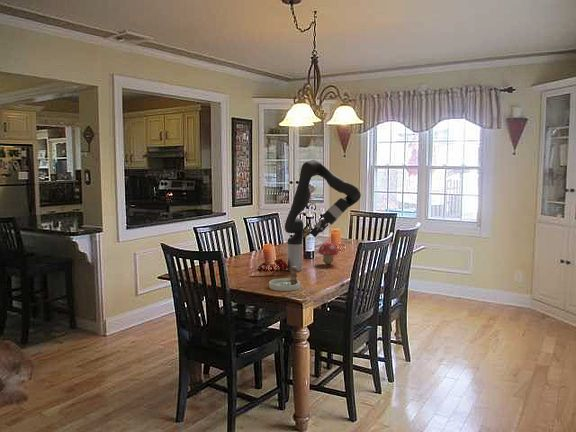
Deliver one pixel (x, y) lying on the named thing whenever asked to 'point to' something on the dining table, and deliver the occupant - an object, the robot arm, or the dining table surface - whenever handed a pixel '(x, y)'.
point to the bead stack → (293, 275)
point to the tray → (283, 285)
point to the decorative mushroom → (328, 252)
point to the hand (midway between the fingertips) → (312, 234)
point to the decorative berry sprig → (279, 262)
